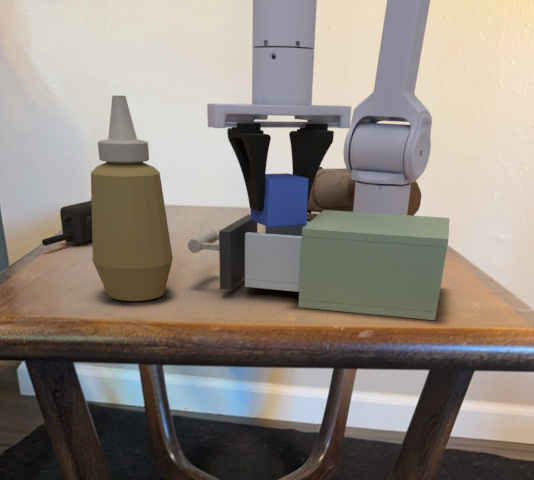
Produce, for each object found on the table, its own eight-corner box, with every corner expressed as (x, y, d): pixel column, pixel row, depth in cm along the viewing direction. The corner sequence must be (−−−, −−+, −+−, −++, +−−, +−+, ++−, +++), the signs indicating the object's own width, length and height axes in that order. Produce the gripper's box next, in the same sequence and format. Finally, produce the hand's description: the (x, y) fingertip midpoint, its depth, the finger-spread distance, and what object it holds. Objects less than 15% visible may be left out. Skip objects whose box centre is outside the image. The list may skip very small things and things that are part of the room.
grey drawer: (181, 285, 66) (179, 227, 63) (213, 264, 75) (212, 212, 72) (338, 300, 63) (343, 239, 60) (352, 275, 71) (357, 221, 68)
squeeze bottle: (80, 298, 64) (52, 94, 55) (130, 281, 71) (112, 94, 61) (143, 310, 61) (126, 96, 52) (189, 291, 67) (181, 97, 58)
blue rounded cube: (250, 220, 66) (250, 174, 64) (287, 217, 68) (288, 173, 66) (267, 227, 63) (268, 179, 61) (306, 225, 64) (308, 178, 62)
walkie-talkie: (98, 197, 91) (29, 212, 79) (118, 200, 90) (51, 215, 78) (101, 232, 94) (35, 252, 82) (120, 235, 93) (57, 255, 81)
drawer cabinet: (298, 307, 63) (302, 228, 59) (318, 279, 73) (323, 209, 69) (435, 320, 61) (448, 238, 57) (437, 289, 70) (449, 217, 66)
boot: (426, 177, 109) (340, 184, 119) (363, 145, 91) (267, 156, 100) (420, 228, 111) (336, 230, 121) (358, 206, 93) (265, 211, 102)
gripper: (329, 54, 63) (320, 199, 70) (194, 47, 58) (199, 205, 65) (368, 51, 58) (354, 209, 65) (222, 43, 52) (224, 216, 60)
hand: (278, 208), depth 65 cm, fingers closed on blue rounded cube, 4 cm apart
